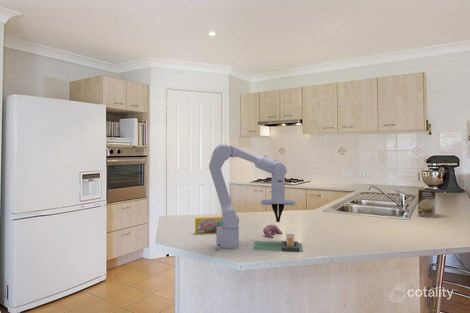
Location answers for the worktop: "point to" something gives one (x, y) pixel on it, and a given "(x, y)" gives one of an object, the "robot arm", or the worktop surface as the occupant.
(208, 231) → the candy box
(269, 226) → the pink toy figure
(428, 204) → the coffee box
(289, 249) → the frame
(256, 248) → the circuit board
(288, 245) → the plug
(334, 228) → the worktop surface
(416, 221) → the worktop surface
